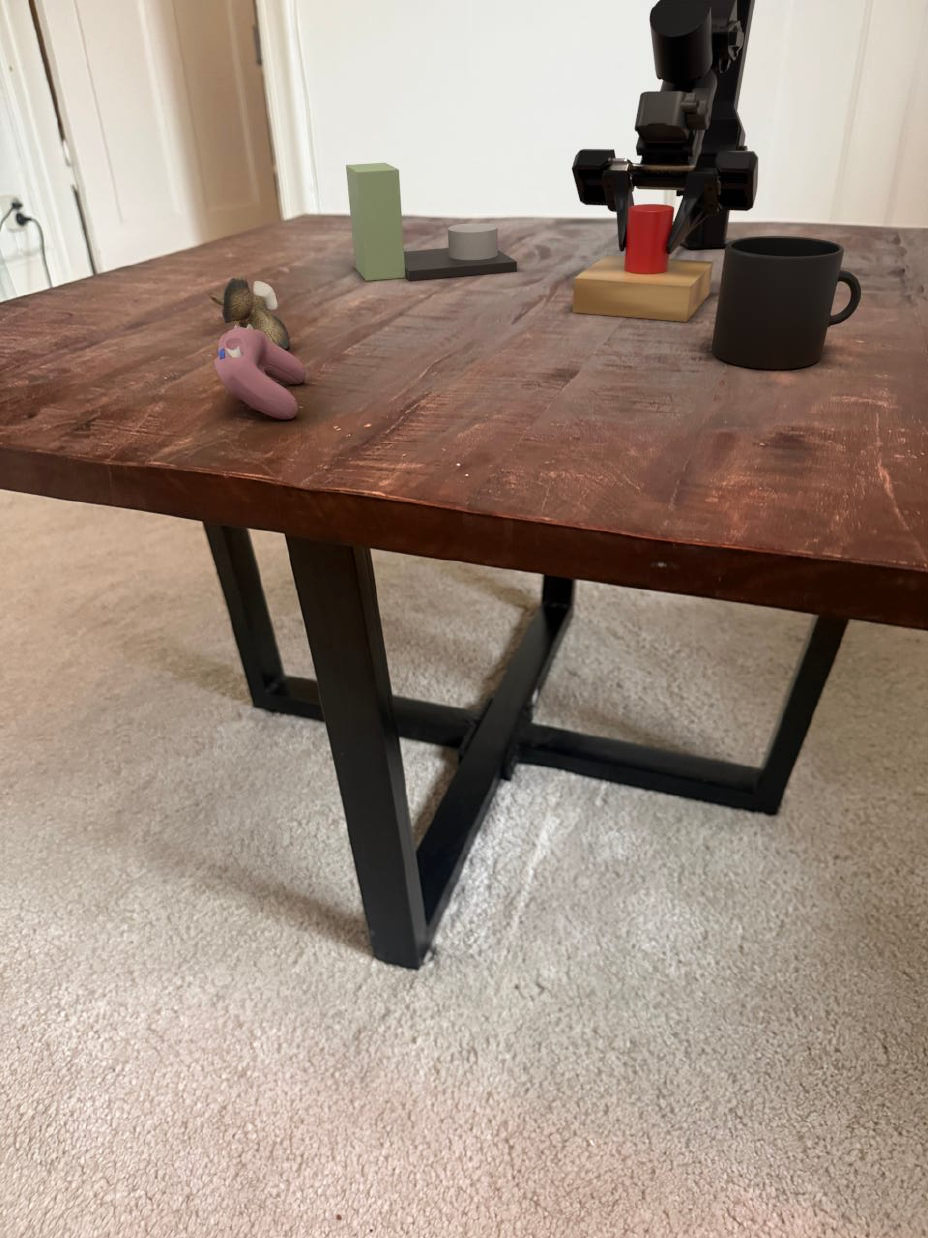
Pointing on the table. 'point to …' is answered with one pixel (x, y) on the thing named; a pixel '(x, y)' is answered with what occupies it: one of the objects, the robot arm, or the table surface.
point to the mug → (779, 300)
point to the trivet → (642, 290)
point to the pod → (648, 238)
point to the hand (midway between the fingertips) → (644, 250)
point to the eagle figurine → (252, 309)
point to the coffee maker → (383, 235)
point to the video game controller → (258, 371)
